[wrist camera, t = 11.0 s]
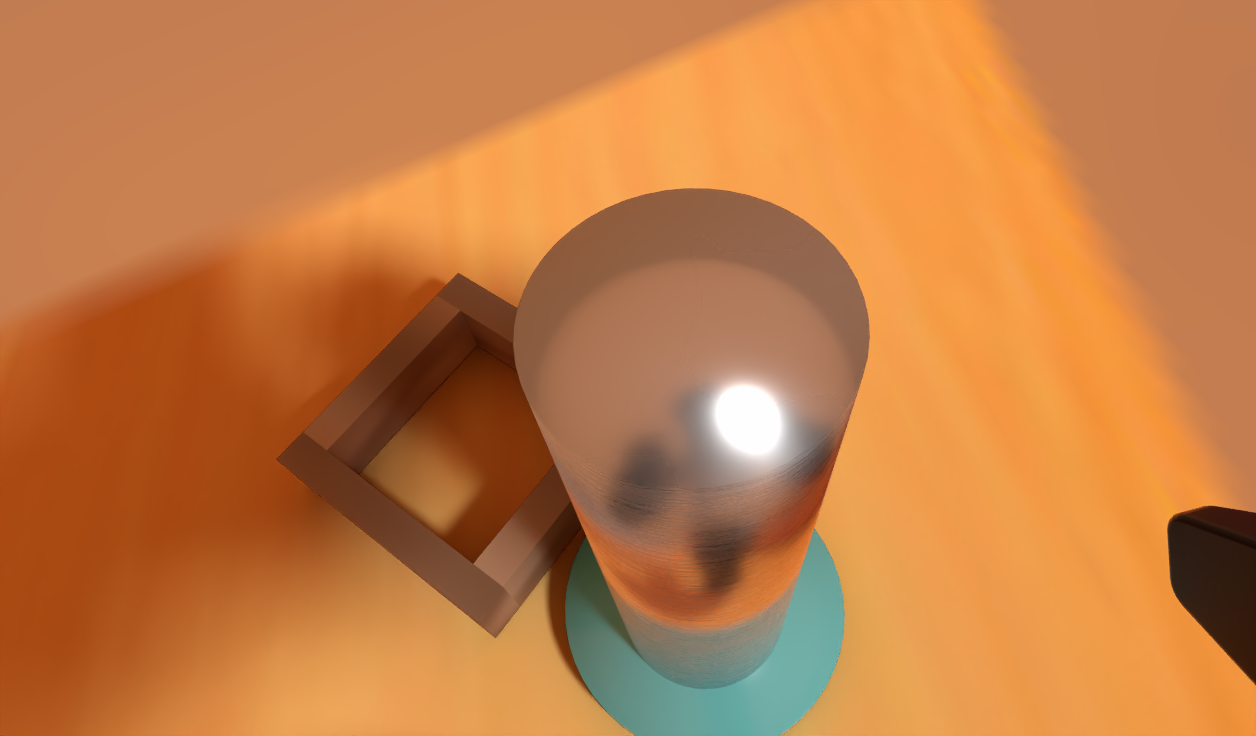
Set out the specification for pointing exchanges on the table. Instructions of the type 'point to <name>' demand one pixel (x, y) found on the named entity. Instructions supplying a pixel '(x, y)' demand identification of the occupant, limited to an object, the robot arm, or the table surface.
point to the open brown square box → (382, 409)
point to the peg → (695, 411)
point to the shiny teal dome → (707, 718)
